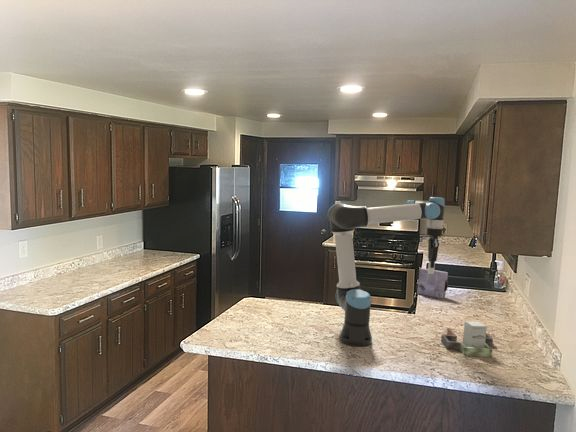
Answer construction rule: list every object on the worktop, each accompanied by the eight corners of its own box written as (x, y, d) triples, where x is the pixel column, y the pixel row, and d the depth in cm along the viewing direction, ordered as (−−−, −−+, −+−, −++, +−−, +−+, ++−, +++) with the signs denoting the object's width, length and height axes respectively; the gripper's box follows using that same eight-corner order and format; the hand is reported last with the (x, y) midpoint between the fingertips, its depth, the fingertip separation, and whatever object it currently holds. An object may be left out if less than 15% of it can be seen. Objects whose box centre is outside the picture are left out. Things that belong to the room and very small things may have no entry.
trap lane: (450, 354, 217) (451, 346, 216) (435, 334, 244) (435, 327, 243) (504, 357, 215) (505, 350, 215) (483, 337, 243) (484, 330, 242)
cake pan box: (447, 297, 320) (449, 271, 319) (445, 299, 316) (447, 272, 315) (418, 292, 331) (420, 267, 329) (416, 294, 326) (418, 268, 325)
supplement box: (469, 352, 220) (472, 325, 219) (461, 346, 227) (464, 320, 226) (484, 352, 221) (487, 326, 220) (476, 346, 228) (478, 321, 227)
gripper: (445, 229, 236) (441, 276, 238) (439, 226, 249) (435, 271, 251) (430, 228, 236) (426, 275, 238) (424, 225, 249) (420, 270, 251)
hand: (430, 273), depth 245 cm, fingers closed
